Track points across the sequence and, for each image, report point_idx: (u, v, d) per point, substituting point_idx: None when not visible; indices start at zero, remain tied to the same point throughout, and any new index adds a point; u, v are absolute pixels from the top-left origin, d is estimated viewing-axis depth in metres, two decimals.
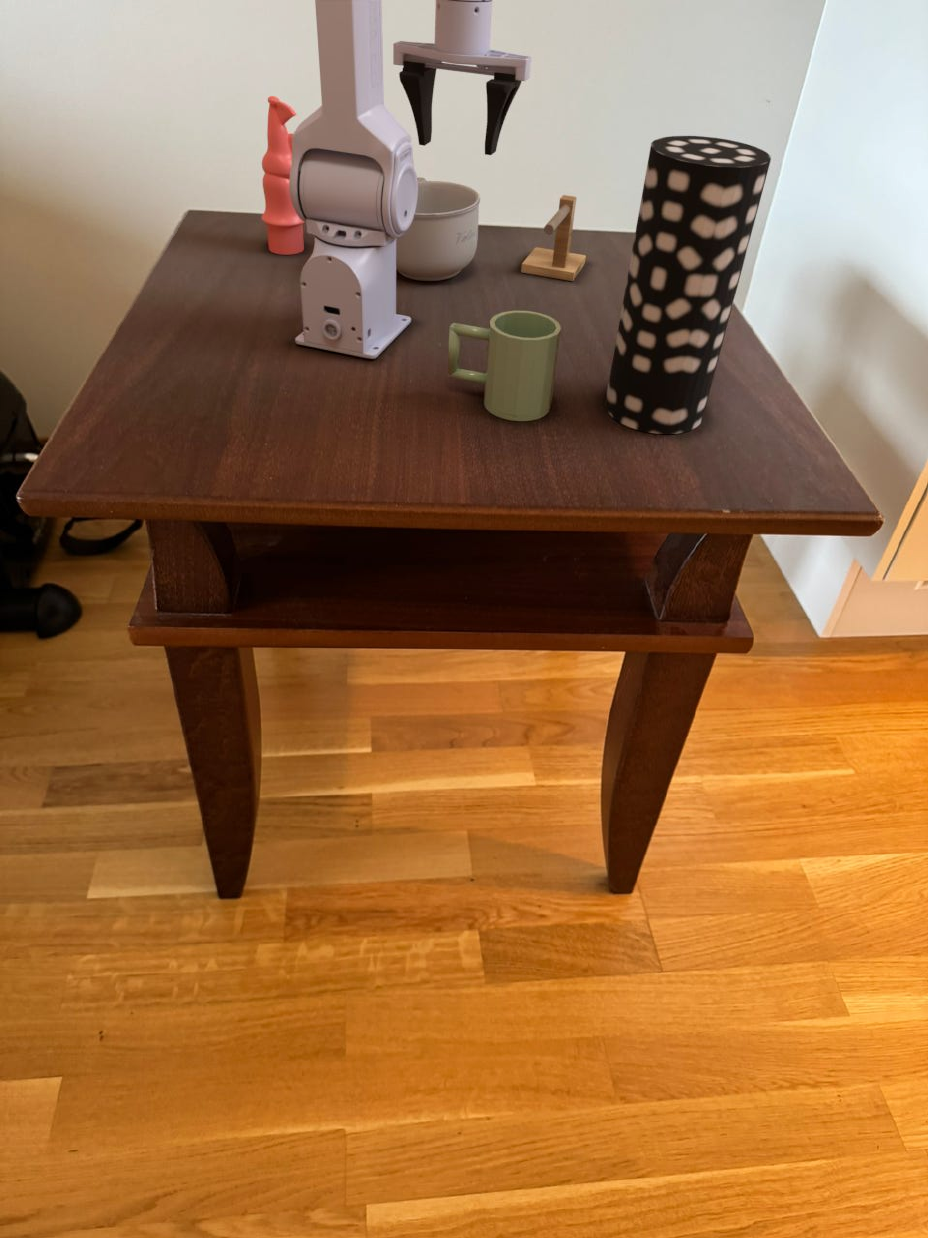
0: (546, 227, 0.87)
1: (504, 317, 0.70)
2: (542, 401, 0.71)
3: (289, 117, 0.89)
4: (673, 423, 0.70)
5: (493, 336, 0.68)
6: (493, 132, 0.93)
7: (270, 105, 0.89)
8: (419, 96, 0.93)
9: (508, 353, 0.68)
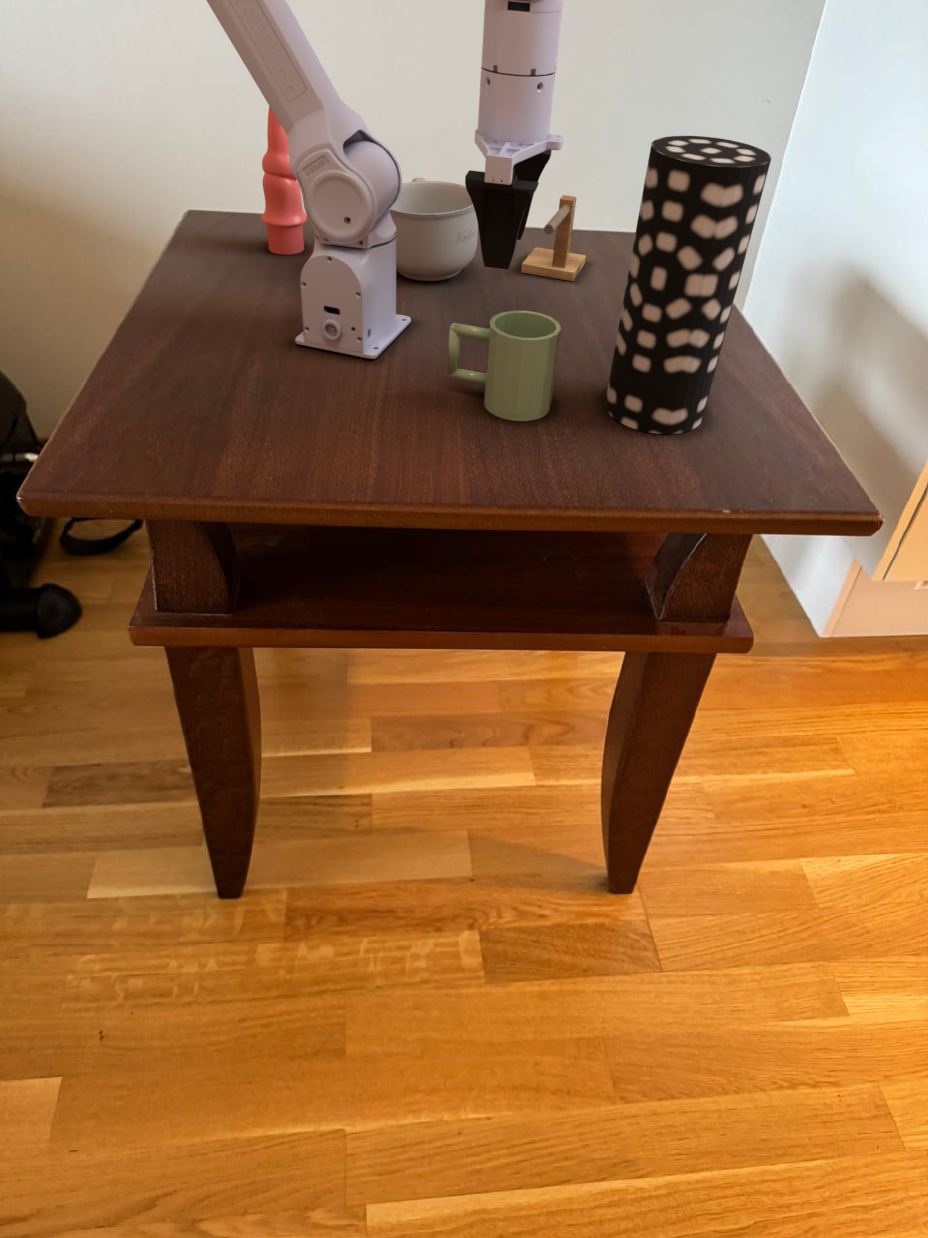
0: (546, 227, 0.87)
1: (504, 317, 0.70)
2: (542, 401, 0.71)
3: None
4: (673, 423, 0.70)
5: (493, 336, 0.68)
6: (480, 238, 0.71)
7: None
8: None
9: (508, 353, 0.68)
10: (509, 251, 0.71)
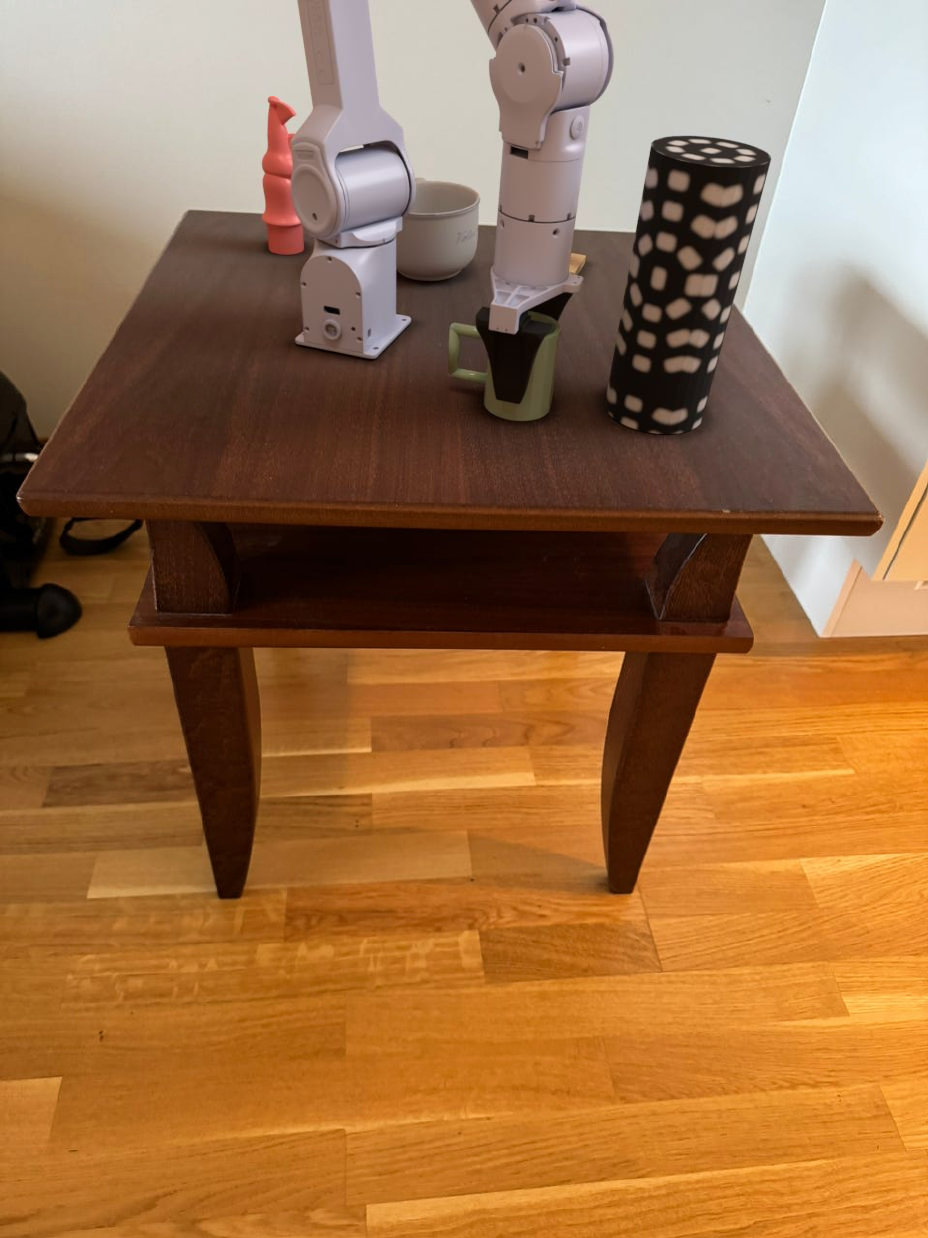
0: None
1: None
2: (542, 401, 0.71)
3: (289, 117, 0.89)
4: (673, 423, 0.70)
5: None
6: (491, 372, 0.68)
7: (270, 105, 0.89)
8: None
9: None
10: (521, 387, 0.68)
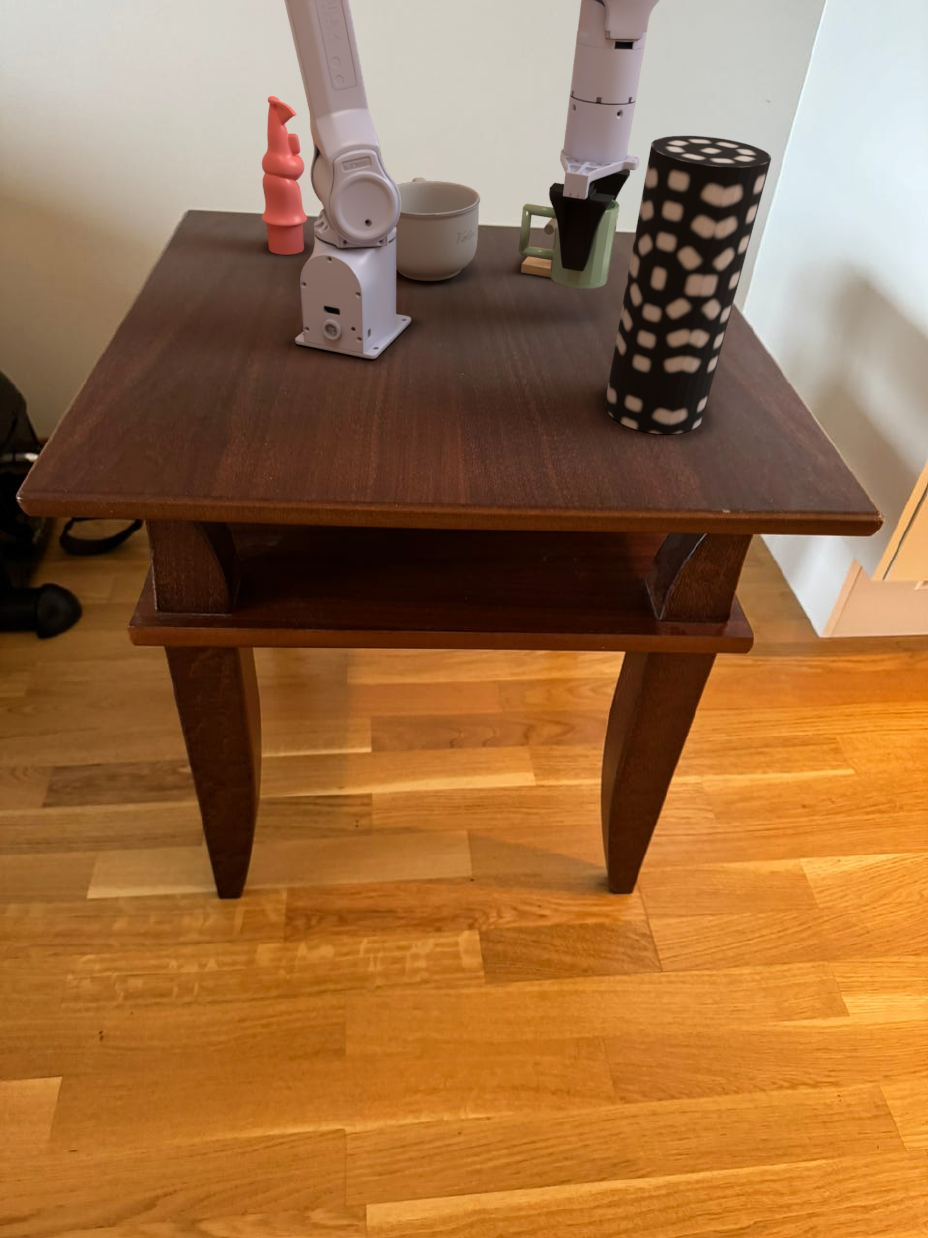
0: (546, 227, 0.87)
1: None
2: (602, 271, 0.83)
3: (289, 117, 0.89)
4: (673, 423, 0.70)
5: None
6: None
7: (270, 105, 0.89)
8: None
9: None
10: (585, 255, 0.80)
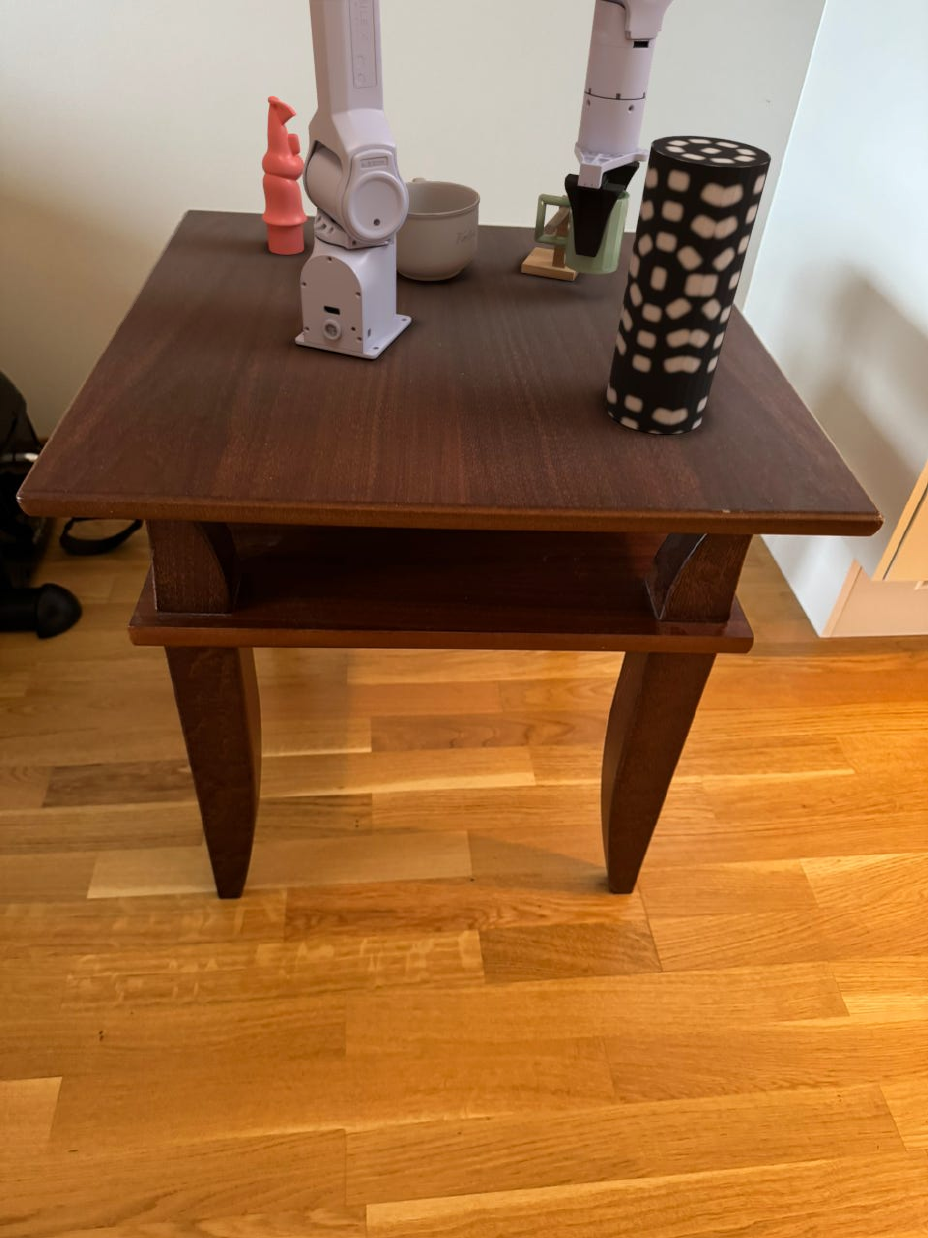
0: (546, 227, 0.87)
1: None
2: (613, 257, 0.88)
3: (289, 117, 0.89)
4: (673, 423, 0.70)
5: None
6: None
7: (270, 105, 0.89)
8: None
9: None
10: (597, 242, 0.85)
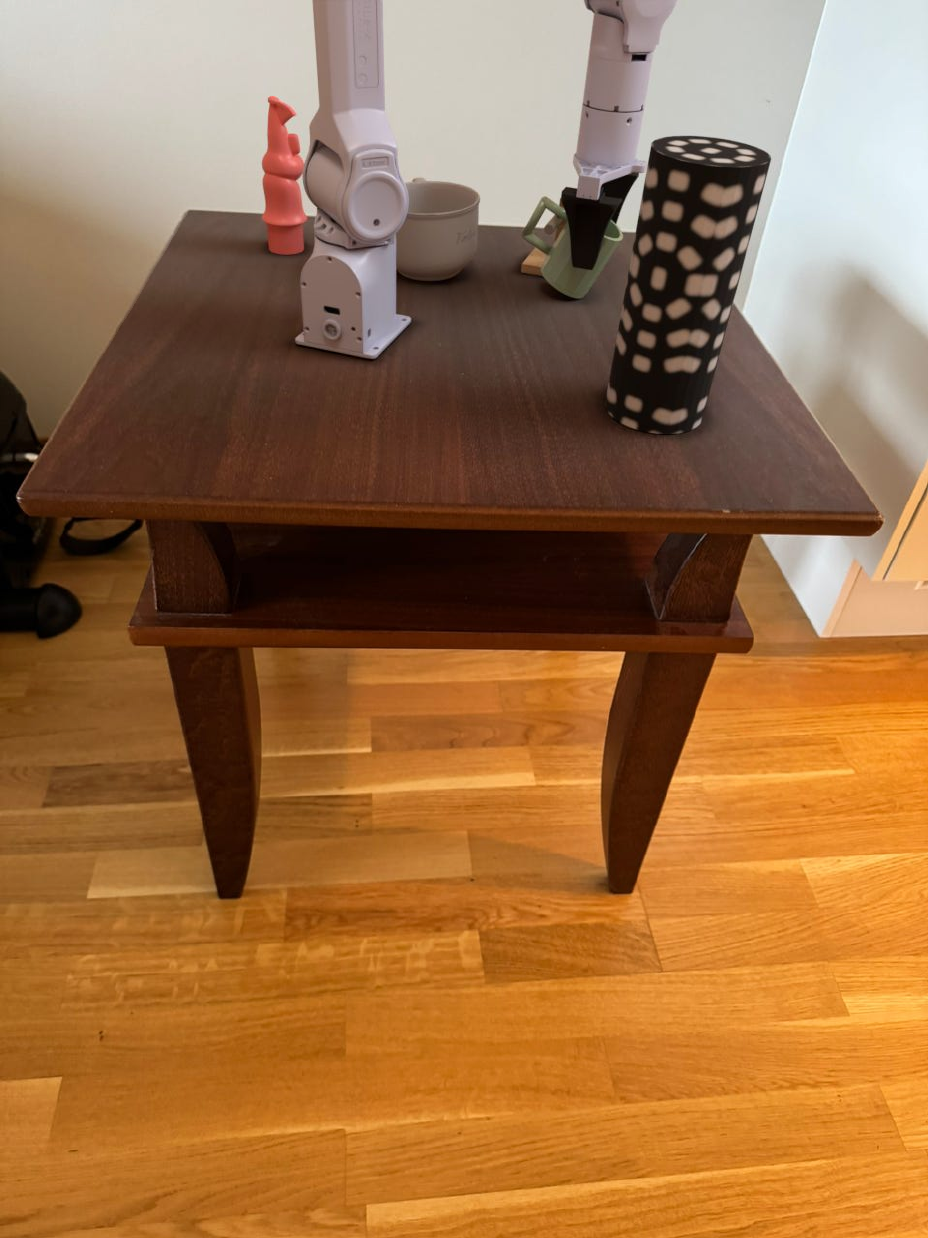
0: (546, 227, 0.87)
1: None
2: (586, 286, 0.90)
3: (289, 117, 0.89)
4: (673, 423, 0.70)
5: None
6: (570, 242, 0.85)
7: (270, 105, 0.89)
8: None
9: None
10: (594, 255, 0.85)
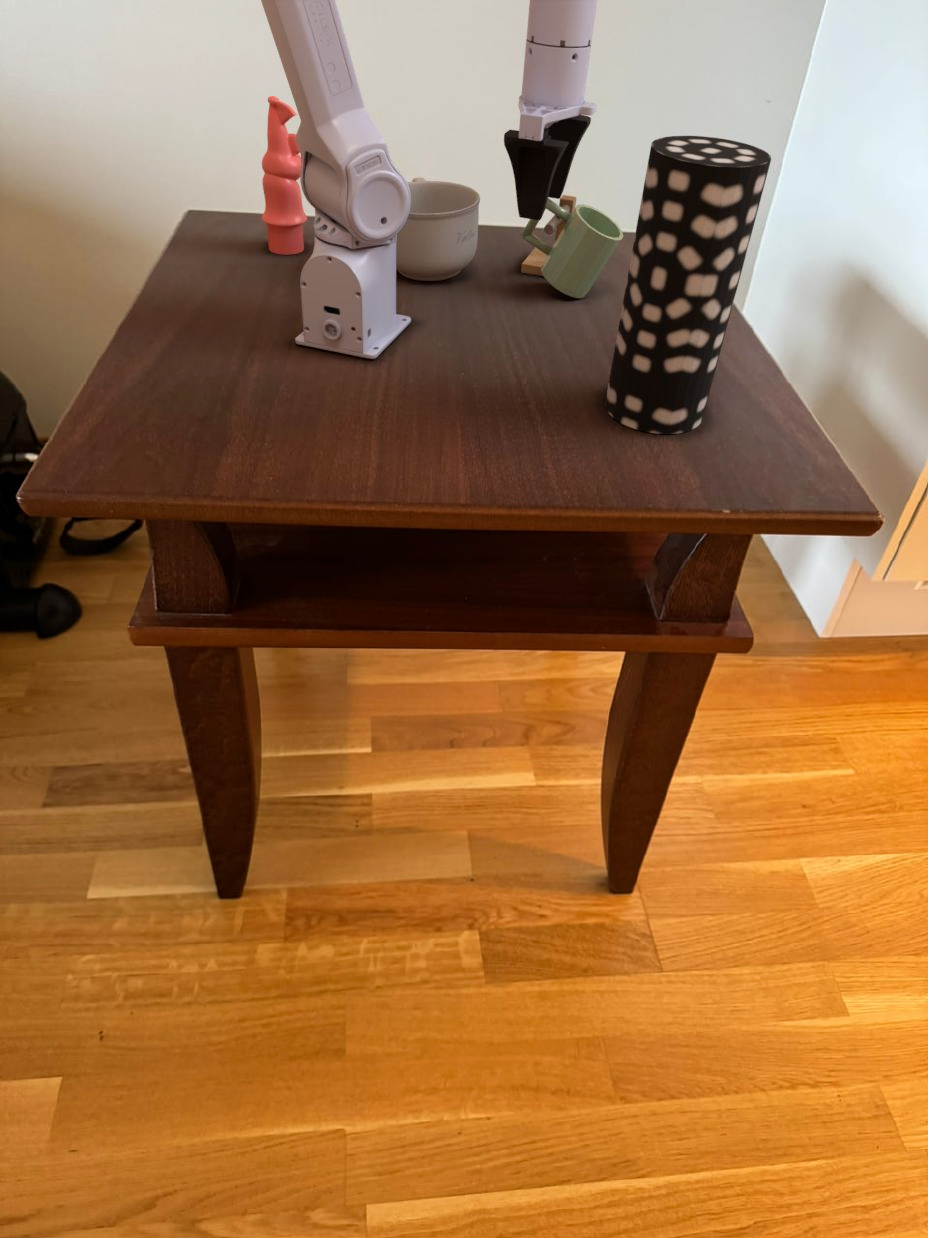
0: (546, 227, 0.87)
1: (584, 209, 0.89)
2: (587, 286, 0.90)
3: (289, 117, 0.89)
4: (673, 423, 0.70)
5: (575, 221, 0.86)
6: (516, 190, 0.81)
7: (270, 105, 0.89)
8: None
9: (582, 239, 0.86)
10: (541, 203, 0.81)
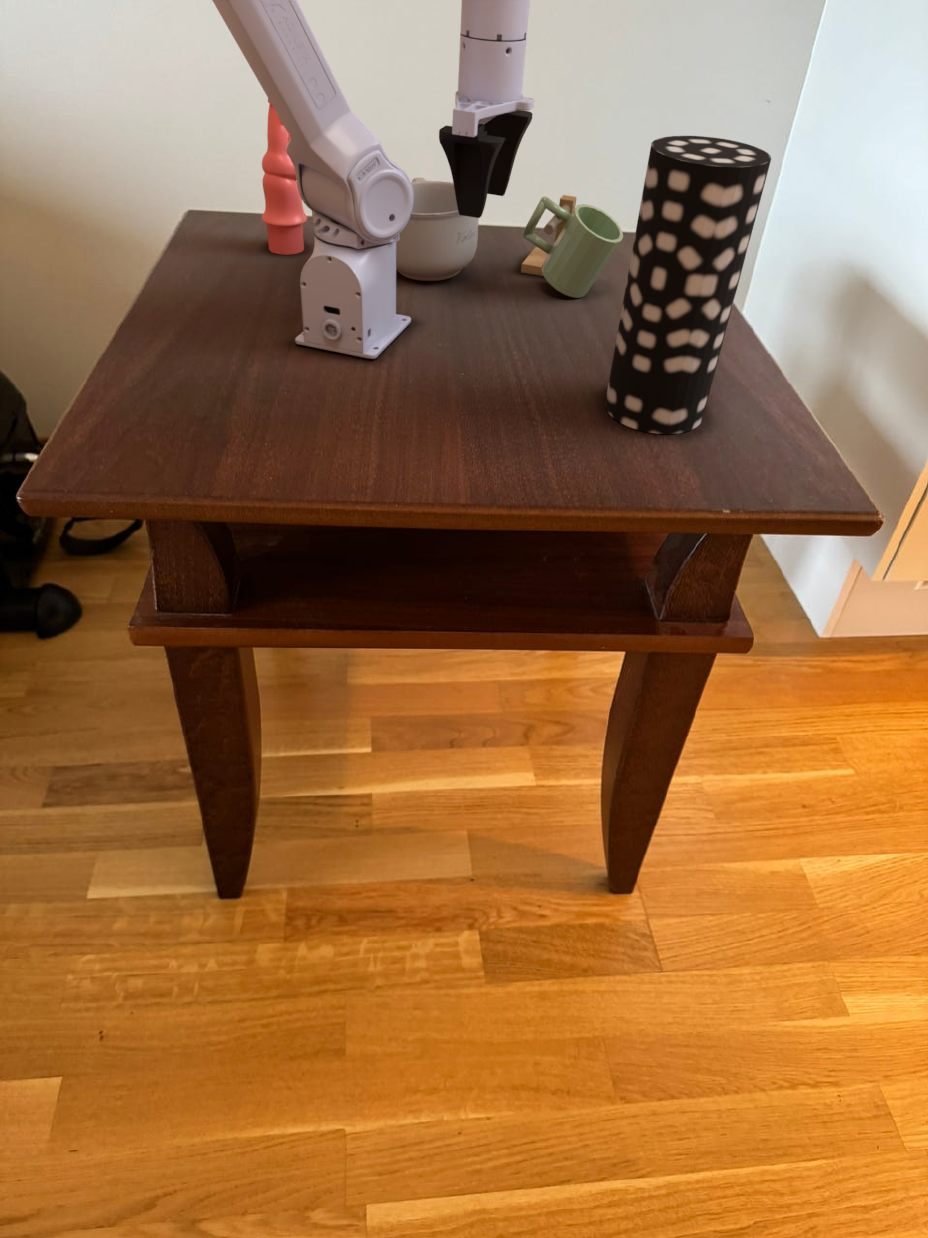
0: (546, 227, 0.87)
1: (584, 208, 0.88)
2: (586, 286, 0.91)
3: None
4: (673, 423, 0.70)
5: (574, 223, 0.86)
6: (454, 187, 0.79)
7: (270, 105, 0.89)
8: None
9: (581, 241, 0.87)
10: (480, 201, 0.79)
